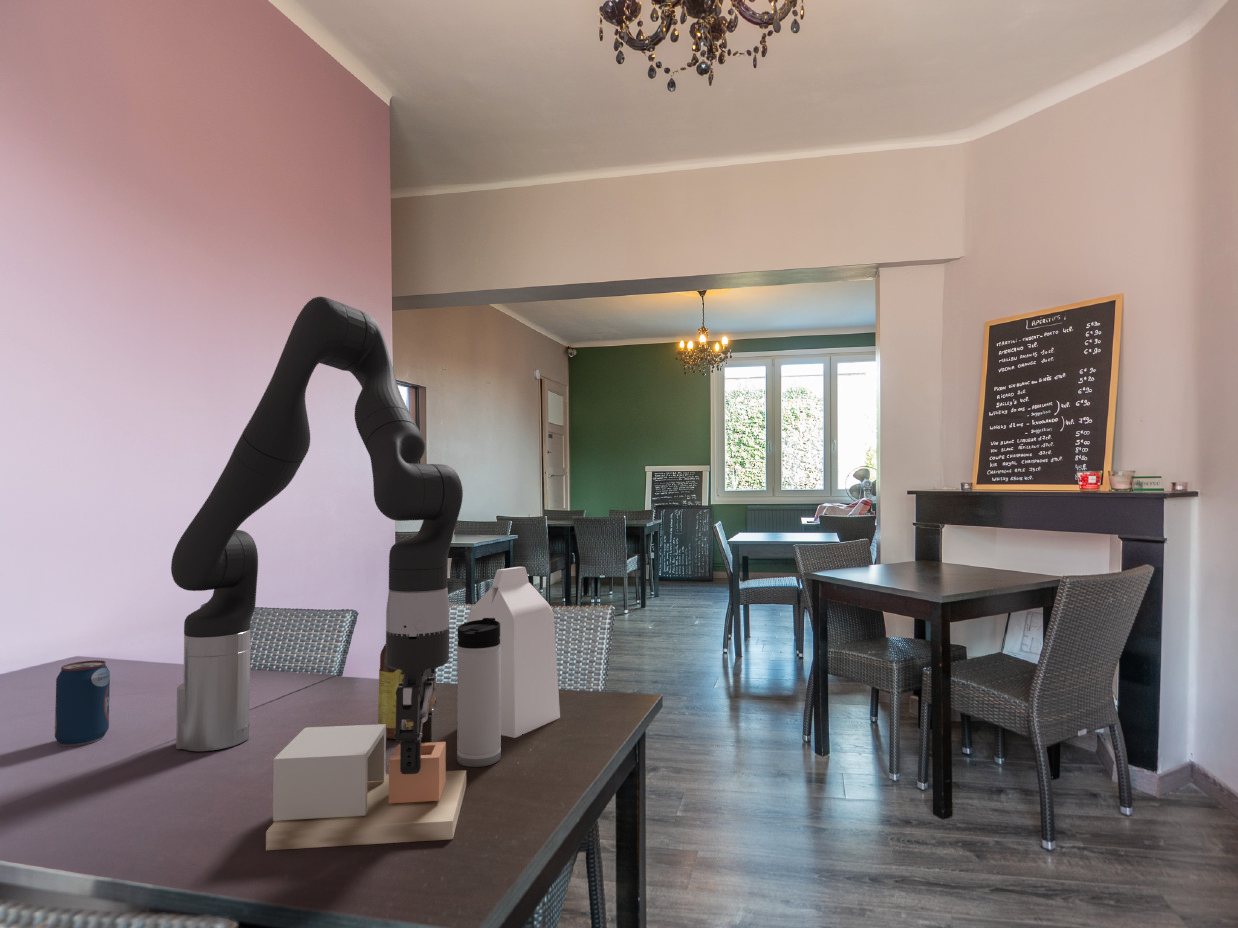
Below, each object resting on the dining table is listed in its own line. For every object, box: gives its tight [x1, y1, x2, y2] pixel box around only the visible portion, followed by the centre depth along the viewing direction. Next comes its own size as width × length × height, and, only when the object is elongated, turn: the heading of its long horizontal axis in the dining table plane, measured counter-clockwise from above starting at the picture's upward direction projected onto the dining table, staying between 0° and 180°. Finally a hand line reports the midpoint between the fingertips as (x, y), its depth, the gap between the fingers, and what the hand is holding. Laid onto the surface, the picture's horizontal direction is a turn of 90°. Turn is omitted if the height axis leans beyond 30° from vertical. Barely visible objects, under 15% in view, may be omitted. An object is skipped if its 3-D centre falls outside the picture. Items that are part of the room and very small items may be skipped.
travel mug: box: [456, 618, 502, 768], centre depth 105 cm, size 6×7×20 cm
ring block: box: [388, 741, 447, 803], centre depth 88 cm, size 6×6×5 cm
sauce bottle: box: [377, 643, 413, 740], centre depth 117 cm, size 6×6×20 cm
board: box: [265, 769, 467, 851], centre depth 87 cm, size 20×15×6 cm
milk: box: [466, 566, 561, 739], centre depth 123 cm, size 12×12×26 cm
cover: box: [272, 723, 387, 822], centre depth 87 cm, size 10×11×7 cm
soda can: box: [54, 659, 111, 747], centre depth 115 cm, size 7×7×12 cm
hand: (416, 759), depth 88 cm, fingers open, 8 cm apart
